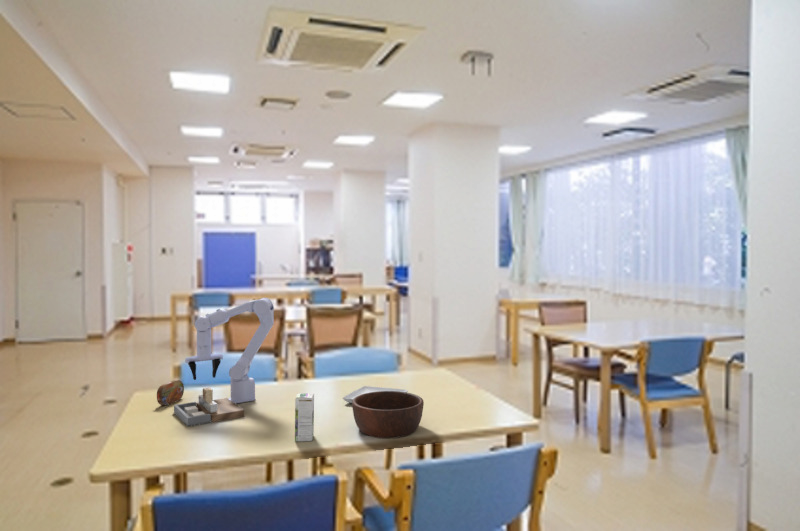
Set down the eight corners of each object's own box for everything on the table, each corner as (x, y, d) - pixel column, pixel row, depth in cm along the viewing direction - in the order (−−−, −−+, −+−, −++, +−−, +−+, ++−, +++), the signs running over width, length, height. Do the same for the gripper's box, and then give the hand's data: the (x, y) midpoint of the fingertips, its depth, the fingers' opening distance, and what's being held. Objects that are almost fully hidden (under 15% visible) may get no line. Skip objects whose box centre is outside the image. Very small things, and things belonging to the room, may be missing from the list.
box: (195, 409, 209) (195, 401, 209) (210, 422, 193) (210, 414, 193) (174, 412, 205) (173, 405, 205) (187, 426, 189) (187, 418, 189)
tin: (162, 408, 211) (161, 386, 211) (155, 407, 212) (154, 386, 212) (184, 397, 226) (184, 378, 226) (178, 397, 227) (177, 377, 227)
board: (226, 404, 217) (226, 397, 217) (244, 416, 201) (244, 409, 200) (196, 409, 210) (196, 402, 210) (211, 422, 193) (211, 415, 193)
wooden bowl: (429, 420, 196) (429, 392, 196) (415, 444, 172) (416, 412, 172) (364, 415, 202) (364, 388, 202) (342, 438, 177) (342, 407, 177)
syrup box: (296, 435, 179) (296, 393, 179) (314, 435, 180) (314, 392, 180) (294, 441, 174) (294, 397, 173) (313, 441, 174) (312, 397, 174)
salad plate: (341, 405, 216) (341, 396, 216) (364, 392, 236) (364, 384, 236) (389, 411, 208) (389, 402, 208) (408, 397, 228) (408, 389, 228)
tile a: (195, 410, 206) (195, 405, 206) (197, 413, 203) (197, 408, 203) (184, 412, 204) (184, 407, 204) (187, 415, 200) (186, 410, 200)
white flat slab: (204, 402, 210) (204, 384, 209) (217, 411, 197) (217, 393, 196) (198, 403, 208) (198, 385, 208) (210, 413, 195) (210, 394, 195)
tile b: (202, 416, 199) (202, 411, 199) (205, 419, 196) (205, 413, 196) (191, 418, 197) (191, 413, 196) (194, 421, 193) (194, 415, 193)
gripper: (187, 348, 213) (187, 382, 214) (224, 345, 221) (224, 378, 221) (184, 346, 219) (184, 378, 220) (220, 342, 227) (220, 374, 227)
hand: (204, 378), depth 221 cm, fingers open, 7 cm apart
